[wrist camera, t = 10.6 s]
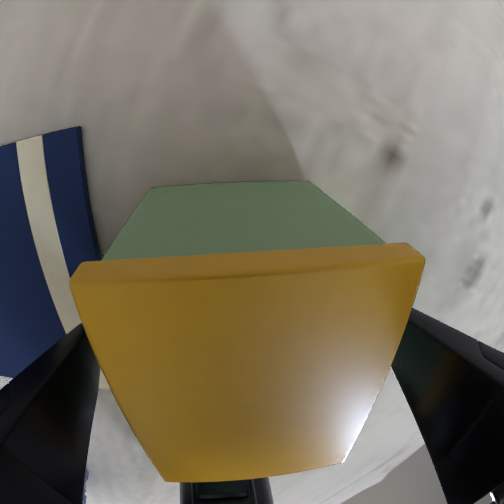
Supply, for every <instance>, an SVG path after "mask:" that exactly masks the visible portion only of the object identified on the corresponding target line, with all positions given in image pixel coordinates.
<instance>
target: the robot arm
mask: <svg viewBox="0 0 504 504" xmlns="http://www.w3.org/2000/svg"><path fill="white" fill-rule="evenodd" d="M391 367H392V369H393V371H394V373H395V375H396V378H397V380H398V382H399V384H400V386H401V388H402V391H403V393H404V395H405V397H406V400H407V402H408V404H409V406H410V409H411V411H412V413H413V415H414V418H415V420H416V422H417V425H418V427H419V430H420V432H421V434H422V437H423V439H424V442H425V444H426V447H427V449H428V452H429V454H430V457H431V459H432V462H433V464H434V466H435V470H436V472H437V475H438V478H439V481H440V483H441V486H442V489H443V492H444V495H445V497H446V501H447V503H448V504H474V503H475V502H477V501H478V500H480V499H481V498H483V497H484V496H485V495H487V494H488V493H491V495H492V497H493V499H494V500H493V501H492V502H491V503H489V504H504V353H503V352H500V351H498V350H496V349H494V348H492V347H490V346H488V345H486V344H484V343H482V342H480V341H477V340H476V339H474V338H472V337H470V336H468V335H466V334H464V333H462V332H460V331H458V330H456V329H454V328H452V327H450V326H448V325H446V324H444V323H442V322H440V321H438V320H436V319H434V318H432V317H430V316H428V315H426V314H424V313H422V312H420V311H418V310H416V309H414V308H412V309H411V312H410V315H409V318H408V321H407V324H406V327H405V330H404V333H403V335H402V338H401V341H400V344H399V346H398V349H397V352H396V354H395V357H394V359H393V362H392V364H391ZM99 378H100V366H99V363H98V361H97V359H96V357H95V354H94V352H93V350H92V347H91V345H90V342H89V340H88V337H87V335H86V332H85V330H84V327H83V324H82V323H80V324H79V325H78V326H76V327H75V328H74V329H72V330H71V331H70V332H69V333H68V334H66V335H65V336H64V337H63V338H61V339H60V340H59V341H58V342H56V343H55V344H54V345H53V346H51V347H50V348H49V349H48V350H47V351H45V352H44V353H43V354H42V355H41V356H39V357H38V358H37V359H36V360H35V361H33V362H32V363H31V364H30V365H29V366H27V367H26V368H25V369H24V370H23V371H22V372H20V373H19V374H18V375H17V376H16V377H15V378H13V379H12V380H11V381H10V382H9V384H6V385H5V386H4V387H3V388H2V389H1V390H0V504H83V491H84V480H85V471H86V463H87V455H88V447H89V441H90V434H91V428H92V422H93V416H94V411H95V405H96V400H97V395H98V388H99ZM180 504H274V503H273V498H272V493H271V488H270V483H269V477H264V478H255V479H246V480H234V481H218V482H180Z"/></svg>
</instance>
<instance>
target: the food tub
mask: <svg viewBox="0 0 504 504" xmlns="http://www.w3.org/2000/svg"><path fill="white" fill-rule="evenodd" d="M424 265H425V257H424V256H423V255H421V254H420V253H419V252H418V251H417V250H415V249H414V248H413V247H412V246H410V245H409V244H408V243H391V244H386V243H385V242H384V241H383V240H382V239H381V238H379V237H378V236H377V235H376V234H375V233H374V232H372V231H371V230H370V229H369V228H368V227H367V226H365V225H364V224H363V223H362V222H361V221H359V220H358V219H357V218H356V217H355V216H353V215H352V214H351V213H350V212H348V211H347V210H346V209H345V208H343V207H342V206H341V205H340V204H338V203H337V202H336V201H335V200H333V199H332V198H331V197H330V196H328V195H327V194H326V193H324V192H323V191H322V190H321V189H319V188H318V187H317V186H315V185H314V184H313V183H311V182H310V181H255V182H228V183H208V184H191V185H177V186H164V187H152V188H150V189H149V190H148V192H147V193H146V195H145V196H144V197H143V199H142V200H141V202H140V203H139V204H138V206H137V207H136V209H135V210H134V211H133V213H132V214H131V216H130V217H129V219H128V220H127V222H126V223H125V224H124V226H123V227H122V229H121V230H120V232H119V233H118V235H117V236H116V238H115V240H114V241H113V243H112V244H111V246H110V247H109V249H108V250H107V252H106V254H105V255H104V257H103V258H102V260H101V261H87V262H82V263H81V264H80V265H79V267H78V268H77V269H76V271H75V272H74V274H73V275H72V277H71V278H70V280H69V287H70V290H71V293H72V296H73V299H74V302H75V305H76V308H77V311H78V314H79V316H80V319H81V322H82V324H83V327H84V330H85V332H86V335H87V337H88V340H89V342H90V345H91V347H92V350H93V352H94V354H95V357H96V359H97V361H98V363H99V366H100V368H101V370H102V372H103V374H104V377H105V379H106V381H107V383H108V385H109V387H110V389H111V391H112V393H113V395H114V397H115V399H116V401H117V403H118V405H119V407H120V409H121V411H122V412H123V414H124V416H125V418H126V420H127V422H128V423H129V425H130V427H131V429H132V430H133V432H134V434H135V436H136V437H137V439H138V441H139V442H140V444H141V446H142V447H143V449H144V450H145V452H146V454H147V455H148V457H149V458H150V460H151V461H152V463H153V464H154V466H155V467H156V469H157V470H158V472H159V473H160V475H161V476H162V478H163V479H164V481H166V482H218V481H234V480H246V479H255V478H264V477H272V476H278V475H285V474H291V473H297V472H302V471H307V470H312V469H317V468H322V467H326V466H330V465H335V464H339V463H342V462H343V461H344V460H345V458H346V456H347V455H348V453H349V451H350V449H351V447H352V446H353V444H354V442H355V440H356V438H357V437H358V435H359V433H360V431H361V429H362V427H363V425H364V423H365V421H366V419H367V417H368V415H369V413H370V411H371V409H372V407H373V405H374V403H375V401H376V399H377V396H378V394H379V392H380V390H381V388H382V385H383V383H384V381H385V378H386V376H387V374H388V371H389V369H390V367H391V364H392V362H393V359H394V357H395V354H396V352H397V349H398V346H399V344H400V341H401V338H402V335H403V333H404V330H405V327H406V324H407V321H408V318H409V315H410V312H411V309H412V306H413V303H414V300H415V297H416V293H417V290H418V286H419V283H420V279H421V276H422V272H423V268H424Z"/></svg>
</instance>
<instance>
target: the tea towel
mask: <svg viewBox="0 0 504 504" xmlns="http://www.w3.org/2000/svg"><path fill="white" fill-rule="evenodd" d="M87 261H101V257H100V253H99V249H98V244H97V239H96V234H95V229H94V224H93V219H92V213H91V208H90V202H89V195H88V189H87V182H86V174H85V166H84V158H83V148H82V137H81V127H80V126H79V127H74V128H69V129H64V130H60V131H56V132H51V133H47V134H43V135H39V136H35V137H32V138H28V139H24V140H21V141H17V142H14V143H11V144H8V145H4V146H1V147H0V376H5V377H10V378H15V377H16V376H17V375H18V374H19V373H20V372H22V371H23V370H24V369H25V368H26V367H27V366H29V365H30V364H31V363H32V362H33V361H35V360H36V359H37V358H38V357H39V356H41V355H42V354H43V353H44V352H45V351H47V350H48V349H49V348H50V347H51V346H53V345H54V344H55V343H56V342H58V341H59V340H60V339H61V338H63V337H64V336H65V335H66V334H68V333H69V332H70V331H71V330H72V329H74V328H75V327H76V326H78V325H79V324H80V323H82V322H81V319H80V316H79V314H78V311H77V308H76V305H75V302H74V299H73V296H72V293H71V290H70V287H69V280H70V278H71V277H72V275H73V274H74V272H75V271H76V269H77V268H78V267H79V265H80V264H81V263H82V262H87ZM98 389H106V390H111V389H110V387H109V385H108V383H107V381H106V379H105V377H104V374H103V372H102V370H101V368H100V378H99V388H98Z"/></svg>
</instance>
